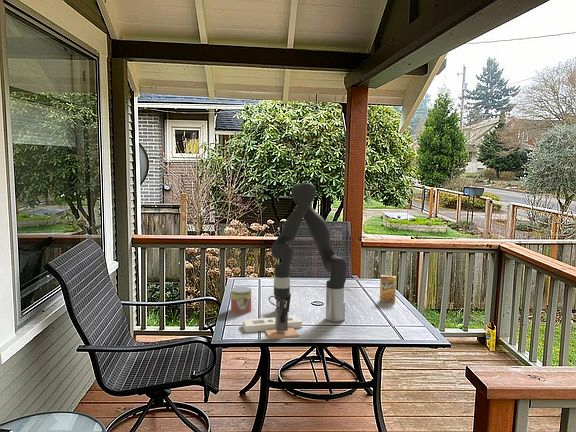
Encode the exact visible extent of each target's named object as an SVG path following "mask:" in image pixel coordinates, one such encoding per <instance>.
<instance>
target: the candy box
mask: <svg viewBox="0 0 576 432" xmlns="http://www.w3.org/2000/svg"><path fill="white" fill-rule="evenodd" d="M379 280H380V282H379V302H385V303H392V304H395V303H396V291H397V290H396V289H397V288H396V287H397V276H396V275H387V274H381V275H380V279H379Z"/></svg>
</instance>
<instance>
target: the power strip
mask: <svg viewBox="0 0 576 432" xmlns="http://www.w3.org/2000/svg"><path fill="white" fill-rule="evenodd" d="M242 327H243V329H244V331H245V333H254V332H256V333H257V332H265V330H269V329H275V317H265V318H253V319H250V318H249V319H242ZM292 327H293V328H294V329H298V328H300V329H301V328H303V321H302V320H301V318H300V317H299V316H298V315H289V316H288V328H292Z"/></svg>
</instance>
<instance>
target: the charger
mask: <svg viewBox="0 0 576 432" xmlns="http://www.w3.org/2000/svg"><path fill="white" fill-rule="evenodd" d="M274 310H275V311H274V315H275V317H274V318H275V329H276V331H277V332H279V331H288V314H289V312H288V310H287V315H285V323H281V322H280V310H279V308H277V307H275V308H274ZM283 313H284V311H283Z"/></svg>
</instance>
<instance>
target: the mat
mask: <svg viewBox="0 0 576 432" xmlns="http://www.w3.org/2000/svg"><path fill="white" fill-rule="evenodd" d="M264 332H265V334H266V336H267V338H268V339H269V340H275V338H277V339H286V337H288V338H296V337H299V333H298V332H297V331H296V328H293V327H292V328H288V331H279V332H277V331H276V329H269V330H265V331H264ZM284 337H285V338H284Z"/></svg>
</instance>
